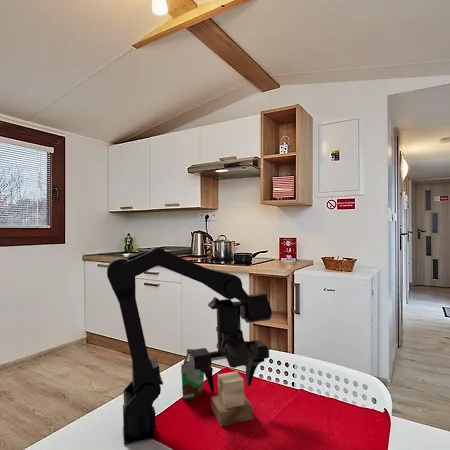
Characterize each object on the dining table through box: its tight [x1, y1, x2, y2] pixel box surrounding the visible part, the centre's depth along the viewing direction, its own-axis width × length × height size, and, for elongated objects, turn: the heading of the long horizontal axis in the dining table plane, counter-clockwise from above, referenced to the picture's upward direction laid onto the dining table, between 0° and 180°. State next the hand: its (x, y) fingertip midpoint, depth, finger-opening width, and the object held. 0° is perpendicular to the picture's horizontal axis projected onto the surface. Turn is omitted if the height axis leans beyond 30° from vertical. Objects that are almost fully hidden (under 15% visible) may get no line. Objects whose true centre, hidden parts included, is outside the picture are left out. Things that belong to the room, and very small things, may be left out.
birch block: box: [217, 371, 245, 409], centre depth 84 cm, size 5×5×6 cm
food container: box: [180, 348, 205, 402], centre depth 96 cm, size 12×6×10 cm, turn 179°
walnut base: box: [210, 395, 254, 427], centre depth 84 cm, size 8×8×3 cm
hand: (230, 389), depth 84 cm, fingers open, 9 cm apart
